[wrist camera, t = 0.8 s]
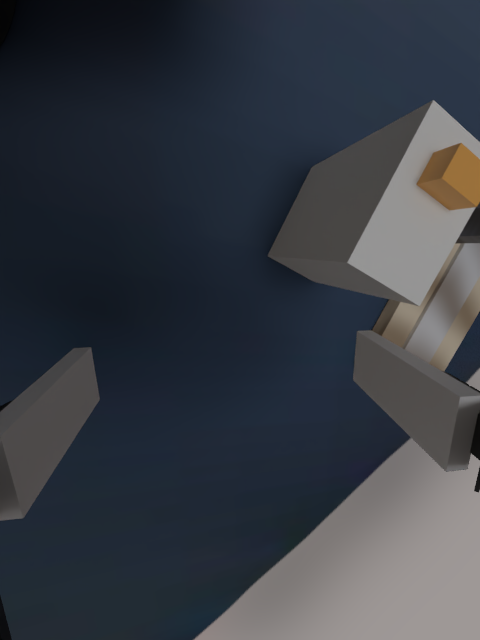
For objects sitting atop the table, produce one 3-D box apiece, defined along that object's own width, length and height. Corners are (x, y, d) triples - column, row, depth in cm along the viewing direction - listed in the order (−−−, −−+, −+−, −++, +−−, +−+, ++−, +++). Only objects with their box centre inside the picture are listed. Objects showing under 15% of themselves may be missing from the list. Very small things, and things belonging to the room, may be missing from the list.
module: (314, 281, 27) (442, 311, 15) (267, 256, 26) (365, 264, 13) (357, 198, 27) (533, 154, 14) (311, 167, 25) (462, 84, 12)
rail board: (416, 392, 33) (474, 425, 27) (354, 362, 30) (402, 392, 24) (505, 239, 31) (589, 237, 25) (447, 193, 28) (525, 178, 22)
